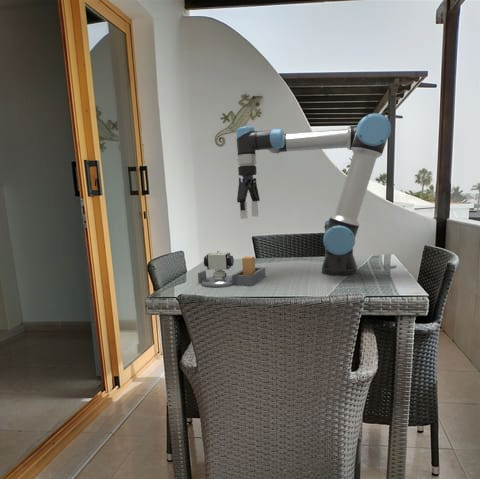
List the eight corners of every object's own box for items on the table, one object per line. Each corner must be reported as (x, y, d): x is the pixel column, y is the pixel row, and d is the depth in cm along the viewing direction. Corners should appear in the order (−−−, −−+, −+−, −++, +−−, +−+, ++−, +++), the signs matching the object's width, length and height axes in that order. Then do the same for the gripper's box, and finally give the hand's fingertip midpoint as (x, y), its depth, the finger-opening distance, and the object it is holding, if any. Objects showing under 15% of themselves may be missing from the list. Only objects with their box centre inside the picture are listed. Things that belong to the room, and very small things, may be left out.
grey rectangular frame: (265, 276, 156) (265, 267, 155) (251, 286, 140) (251, 276, 140) (247, 275, 159) (247, 267, 159) (232, 285, 144) (231, 275, 143)
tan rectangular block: (246, 279, 152) (245, 256, 151) (255, 279, 151) (254, 256, 150) (243, 281, 149) (242, 258, 148) (252, 282, 147) (251, 258, 146)
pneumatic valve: (231, 280, 145) (230, 251, 143) (204, 280, 148) (202, 252, 146) (235, 277, 150) (233, 249, 149) (209, 277, 153) (207, 250, 152)
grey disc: (246, 279, 152) (245, 269, 151) (231, 288, 138) (231, 277, 138) (209, 278, 159) (208, 268, 158) (192, 286, 145) (191, 275, 145)
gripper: (249, 168, 160) (251, 215, 163) (226, 164, 138) (229, 219, 141) (265, 166, 157) (267, 215, 160) (244, 162, 135) (247, 219, 138)
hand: (249, 217), depth 150 cm, fingers open, 12 cm apart
